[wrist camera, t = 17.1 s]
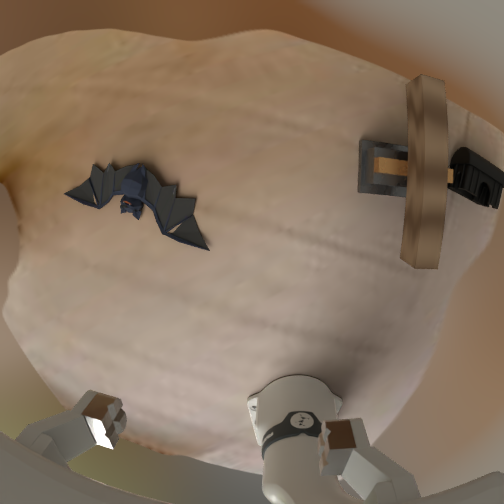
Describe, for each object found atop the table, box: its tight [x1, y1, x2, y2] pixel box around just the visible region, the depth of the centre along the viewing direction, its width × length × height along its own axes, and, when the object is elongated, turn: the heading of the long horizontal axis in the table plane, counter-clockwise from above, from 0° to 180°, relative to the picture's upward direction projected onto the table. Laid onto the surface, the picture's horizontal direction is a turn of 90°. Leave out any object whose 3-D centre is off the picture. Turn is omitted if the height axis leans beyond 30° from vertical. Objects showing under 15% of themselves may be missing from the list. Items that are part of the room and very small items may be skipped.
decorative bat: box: [64, 163, 210, 251], centre depth 44 cm, size 30×4×10 cm
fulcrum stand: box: [358, 140, 453, 197], centre depth 38 cm, size 8×13×8 cm, turn 88°
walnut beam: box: [400, 74, 448, 269], centre depth 32 cm, size 24×4×5 cm, turn 179°
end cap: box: [447, 147, 504, 209], centre depth 37 cm, size 10×7×7 cm
